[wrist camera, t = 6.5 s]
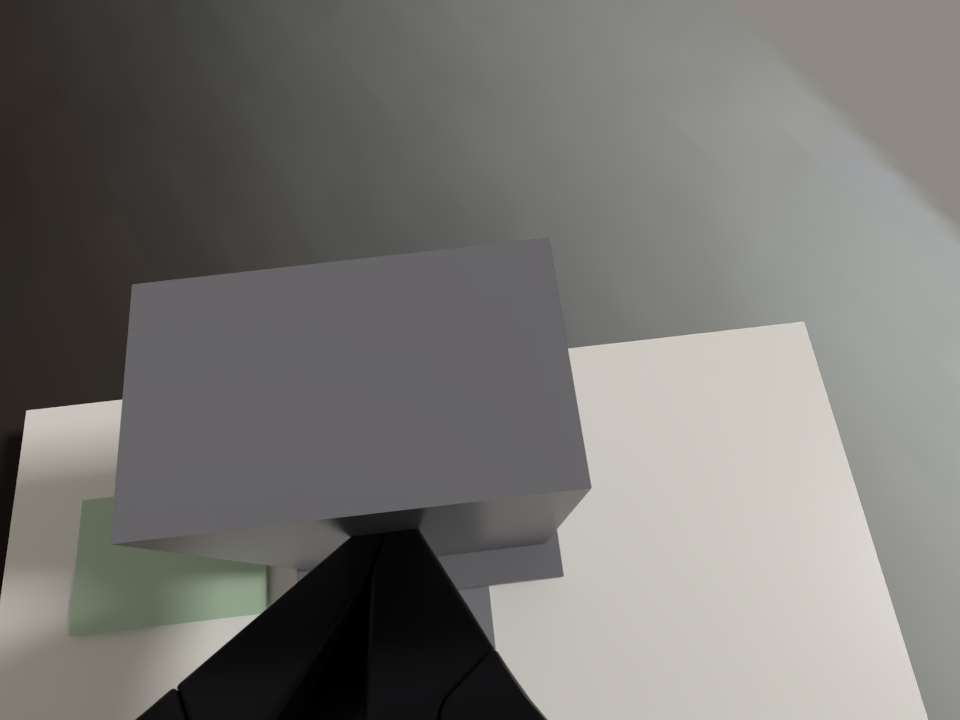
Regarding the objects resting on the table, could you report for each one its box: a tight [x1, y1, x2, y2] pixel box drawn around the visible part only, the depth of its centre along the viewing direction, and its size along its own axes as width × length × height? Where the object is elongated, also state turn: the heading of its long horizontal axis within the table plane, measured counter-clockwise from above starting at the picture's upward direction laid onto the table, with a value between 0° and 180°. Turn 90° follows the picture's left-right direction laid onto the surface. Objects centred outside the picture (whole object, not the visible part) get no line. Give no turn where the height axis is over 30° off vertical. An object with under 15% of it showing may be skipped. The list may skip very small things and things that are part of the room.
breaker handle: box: [110, 238, 592, 590], centre depth 11 cm, size 4×6×8 cm
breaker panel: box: [0, 322, 928, 720], centre depth 15 cm, size 14×20×2 cm
